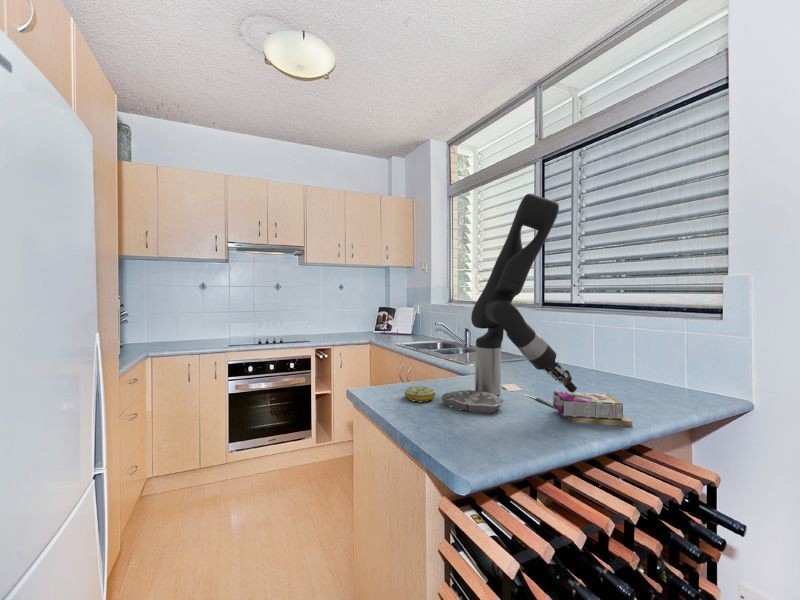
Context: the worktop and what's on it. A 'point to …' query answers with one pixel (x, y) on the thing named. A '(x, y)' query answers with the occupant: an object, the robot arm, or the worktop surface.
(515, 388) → the spatula
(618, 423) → the bamboo board
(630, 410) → the worktop surface
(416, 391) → the decorated donut
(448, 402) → the flat grey stone
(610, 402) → the candy bar box
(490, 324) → the robot arm
